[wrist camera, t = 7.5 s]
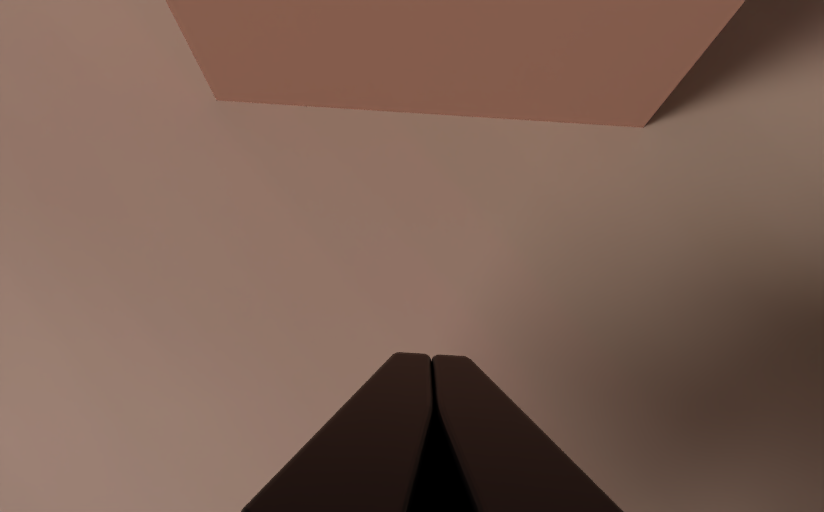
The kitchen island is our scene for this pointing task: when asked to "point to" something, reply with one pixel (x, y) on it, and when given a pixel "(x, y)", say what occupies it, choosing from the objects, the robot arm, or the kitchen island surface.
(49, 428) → the kitchen island surface
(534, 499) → the robot arm
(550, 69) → the terracotta block
